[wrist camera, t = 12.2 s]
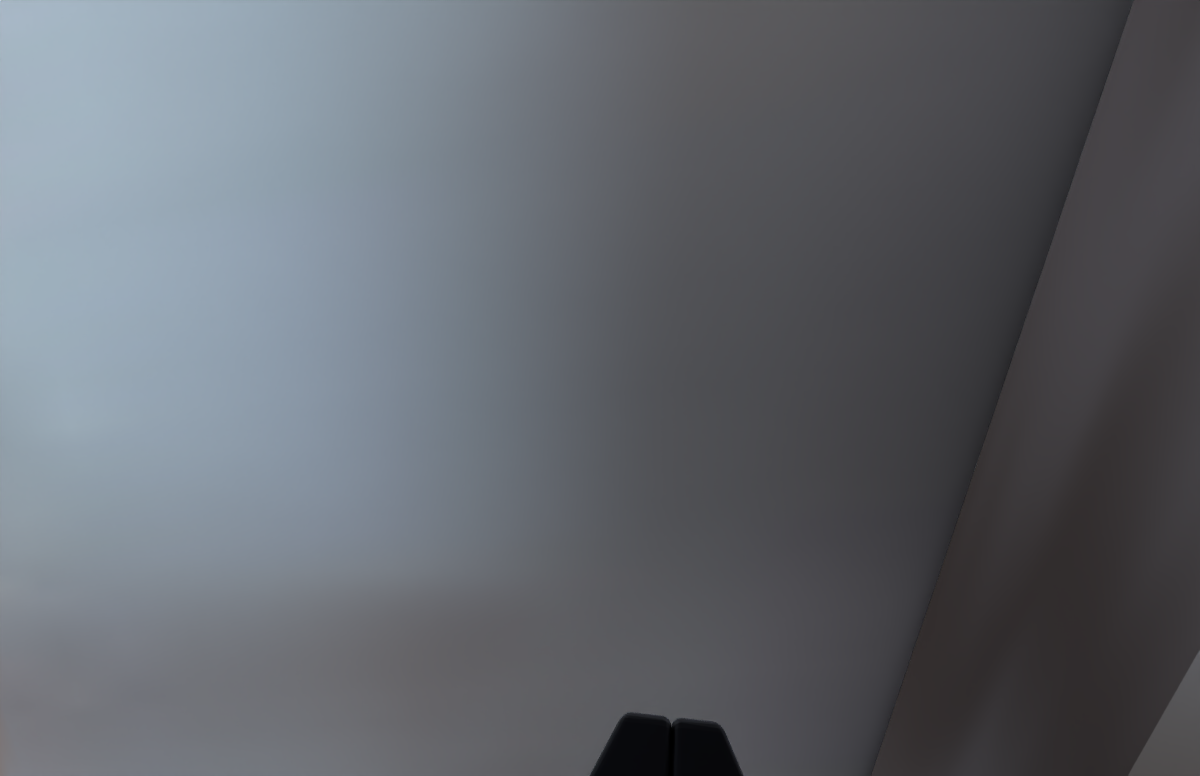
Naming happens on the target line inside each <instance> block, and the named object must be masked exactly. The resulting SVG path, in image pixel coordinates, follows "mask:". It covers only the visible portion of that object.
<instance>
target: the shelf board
mask: <svg viewBox="0 0 1200 776" xmlns="http://www.w3.org/2000/svg"><path fill="white" fill-rule="evenodd" d="M871 776H1200V0H1133V3H1132V6H1131V9H1130V12H1129V15H1128V18H1127V21H1126V24H1125V27H1124V30H1123V33H1122V36H1121V39H1120V42H1119V45H1118V47H1117V50H1116V53H1115V56H1114V59H1113V62H1112V65H1111V68H1110V71H1109V74H1108V77H1107V80H1106V83H1105V86H1104V89H1103V92H1102V95H1101V98H1100V101H1099V104H1098V107H1097V109H1096V112H1095V115H1094V118H1093V121H1092V124H1091V127H1090V130H1089V133H1088V136H1087V139H1086V142H1085V145H1084V148H1083V151H1082V154H1081V157H1080V160H1079V163H1078V166H1077V169H1076V171H1075V174H1074V177H1073V180H1072V183H1071V186H1070V189H1069V192H1068V195H1067V198H1066V201H1065V204H1064V207H1063V210H1062V213H1061V216H1060V219H1059V222H1058V225H1057V228H1056V231H1055V233H1054V236H1053V239H1052V242H1051V245H1050V248H1049V251H1048V254H1047V257H1046V260H1045V263H1044V266H1043V269H1042V272H1041V275H1040V278H1039V281H1038V284H1037V287H1036V290H1035V293H1034V296H1033V298H1032V301H1031V304H1030V307H1029V310H1028V313H1027V316H1026V319H1025V322H1024V325H1023V328H1022V331H1021V334H1020V337H1019V340H1018V343H1017V346H1016V349H1015V352H1014V355H1013V358H1012V360H1011V363H1010V366H1009V369H1008V372H1007V375H1006V378H1005V381H1004V384H1003V387H1002V390H1001V393H1000V396H999V399H998V402H997V405H996V408H995V411H994V414H993V417H992V420H991V422H990V425H989V428H988V431H987V434H986V437H985V440H984V443H983V446H982V449H981V452H980V455H979V458H978V461H977V464H976V467H975V470H974V473H973V476H972V479H971V482H970V484H969V487H968V490H967V493H966V496H965V499H964V502H963V505H962V508H961V511H960V514H959V517H958V520H957V523H956V526H955V529H954V532H953V535H952V538H951V541H950V544H949V547H948V549H947V552H946V555H945V558H944V561H943V564H942V567H941V570H940V573H939V576H938V579H937V582H936V585H935V588H934V591H933V594H932V597H931V600H930V603H929V606H928V609H927V611H926V614H925V617H924V620H923V623H922V626H921V629H920V632H919V635H918V638H917V641H916V644H915V647H914V650H913V653H912V656H911V659H910V662H909V665H908V668H907V671H906V673H905V676H904V679H903V682H902V685H901V688H900V691H899V694H898V697H897V700H896V703H895V706H894V709H893V712H892V715H891V718H890V721H889V724H888V727H887V730H886V733H885V735H884V738H883V741H882V744H881V747H880V750H879V753H878V756H877V759H876V762H875V765H874V768H873V771H872V774H871Z"/></svg>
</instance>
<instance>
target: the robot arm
mask: <svg viewBox="0 0 1200 776" xmlns="http://www.w3.org/2000/svg"><path fill="white" fill-rule="evenodd" d="M590 776H743V774H742V771H741V769H740V767H739V764H738V762H737V759H736V757H735V755H734V752H733V750H732V747H731V745H730V743H729V740H728V738H727V735H726V733H725V731H724V730H723V728H722V727H721V726H720V725H719V724H718V723H716V722H711V721H703V720H694V719H685V718H678V719H676V720H675V721H674V722H673V723H672V727H671V723H670V721H669V719H667V718H666V717H664V716H659V715H650V714H641V713H632V712H630V713H626V714H624V715H623V716H622V717H621V719H620V720H619V722H618V724H617V725H616V727H615V729H614V731H613V733H612V735H611V737H610V738H609V740H608V742H607V744H606V746H605V748H604V750H603V751H602V753H601V755H600V757H599V759H598V761H597V763H596V765H595V766H594V768H593V770H592V772H591V774H590Z"/></svg>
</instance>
